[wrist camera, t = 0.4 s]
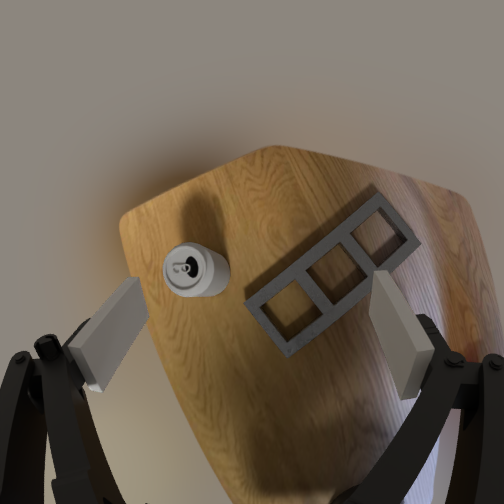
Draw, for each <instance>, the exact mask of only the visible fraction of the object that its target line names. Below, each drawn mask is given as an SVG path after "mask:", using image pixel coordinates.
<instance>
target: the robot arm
mask: <svg viewBox="0 0 504 504" xmlns="http://www.w3.org/2000/svg"><path fill="white" fill-rule="evenodd" d="M369 316H370V318H371V321H372V324H373V326H374V329H375V331H376V334H377V336H378V339H379V342H380V344H381V347H382V349H383V352H384V355H385V358H386V360H387V363H388V366H389V369H390V371H391V374H392V377H393V380H394V383H395V386H396V389H397V392H398V395H399V398H400V400H405V399H411V398H416V397H417V395H418V393H419V390H420V389H421V393H420V395H419V397H418V399H417V400H416V402H415V404H414V406H413V408H412V409H411V411H410V413H409V414H408V416H407V418H406V419H405V421H404V423H403V424H402V426H401V428H400V429H399V431H398V432H397V434H396V435H395V437H394V439H393V440H392V442H391V443H390V445H389V446H388V448H387V449H386V450H385V452H384V453H383V455H382V456H381V458H380V459H379V460H378V462H377V463H376V465H375V466H374V467H373V469H372V470H371V471H370V473H369V474H368V475H367V477H366V478H365V479H364V480H363V482H362V483H361V484H360V485H358V486H355V487H353V488H351V489H349V490H347V491H345V492H344V493H342V494H341V495H340V496H339V497H337V498H336V499H335V501H334V502H333V503H332V504H404V497H405V496H406V494H407V492H408V491H409V489H410V488H411V486H412V484H413V483H414V481H415V480H416V478H417V476H418V474H419V473H420V471H421V469H422V467H423V466H424V464H425V462H426V460H427V458H428V456H429V455H430V453H431V451H432V449H433V447H434V445H435V443H436V441H437V439H438V437H439V435H440V433H441V430H442V428H443V426H444V424H445V422H446V419H447V417H448V415H449V412H450V410H451V408H454V409H461V415H460V425H459V434H458V441H457V448H456V454H455V460H454V466H453V471H452V476H451V481H450V485H449V490H448V494H447V498H446V502H445V504H504V357H502V356H500V355H498V354H488V355H486V356H485V357H484V359H483V361H482V363H474V362H467V361H466V359H465V357H464V356H463V355H461V354H460V353H458V352H454V351H451V350H450V348H449V346H448V345H447V343H446V341H445V340H444V338H443V337H442V335H441V333H440V332H439V330H438V329H437V328H436V325H435V324H434V322H433V321H432V319H430V318H429V317H428V316H426V315H425V314H419V315H415V314H414V312H413V310H412V309H411V307H410V306H409V304H408V302H407V301H406V299H405V297H404V296H403V294H402V293H401V291H400V290H399V288H398V286H397V285H396V283H395V282H394V280H393V279H392V277H391V276H390V274H389V273H388V271H387V270H381V271H374V275H373V284H372V292H371V300H370V307H369ZM148 318H149V313H148V310H147V306H146V302H145V299H144V295H143V291H142V287H141V283H140V279H139V277H127V279H126V280H125V281H124V282H123V283H122V284H121V285H120V286H119V287H118V288H117V290H116V291H115V292H114V293H113V294H112V295H111V296H110V297H109V298H108V299H107V301H106V302H105V303H104V304H103V305H102V306H101V307H100V309H99V310H98V311H97V312H96V313H95V314H94V315H93V316H92V318H89V319H87V320H86V321H84V322H83V323H82V324H81V325H80V326H79V327H78V328H77V330H76V331H75V332H74V333H73V335H71V337H70V338H69V339H68V340H67V341H66V342H65V343H64V345H63V346H62V347H61V345H60V343H59V341H58V339H57V336H56V335H54V334H48V335H44V336H42V337H40V338H39V339H37V341H36V342H35V343H34V348H35V349H36V352H37V354H38V356H39V357H40V359H32V357H31V355H30V353H29V352H27V351H21V352H18V353H16V354H15V355H14V356H13V357H12V358H11V360H10V362H9V365H8V368H7V370H6V373H5V376H4V379H3V382H2V385H1V388H0V504H44V470H45V454H46V441H47V431H48V437H49V443H50V449H51V454H52V458H53V463H54V468H55V472H56V479H53V480H52V482H51V485H52V490H53V494H54V498H55V501H56V504H126V503H125V501H124V499H123V498H122V495H121V493H120V491H119V489H118V487H117V484H116V482H115V480H114V477H113V475H112V472H111V470H110V467H109V465H108V462H107V460H106V457H105V454H104V452H103V449H102V446H101V444H100V440H99V437H98V435H97V431H96V428H95V426H94V422H93V419H92V415H91V412H90V409H89V405H88V402H87V398H86V394H85V391H84V389H83V387H82V386H83V384H84V383H85V381H86V383H87V385H88V387H89V389H90V390H93V391H97V392H101V393H103V391H104V390H105V388H106V386H107V385H108V383H109V381H110V379H111V378H112V376H113V374H114V373H115V371H116V369H117V368H118V366H119V365H120V363H121V361H122V360H123V358H124V356H125V355H126V353H127V351H128V350H129V348H130V347H131V345H132V343H133V342H134V340H135V339H136V337H137V335H138V334H139V332H140V331H141V329H142V327H143V326H144V324H145V323H146V321H147V320H148ZM146 504H147V503H146Z"/></svg>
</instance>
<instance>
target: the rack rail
mask: <svg viewBox="0 0 504 504" xmlns="http://www.w3.org/2000/svg"><path fill="white" fill-rule="evenodd" d="M376 211H378V212H379V213H380V214H381V216H382V217H383V218H384V219H385V220H386V222H387V223H388V224H389V225H390V226H391V228H392V229H393V230H394V231H395V233H396V234H397V235H398V236H399V238H400V239H401V240H402V241H403V243H402V244H401V245H400V246H399V247H398V248H397V249H396V250H395V251H394V252H392V253H391V254H390V255H389V256H388V257H387V258H386V259H385V260H384V261H383V262H382V263H380V264H379V265H378V266H377V267H376V265H375V264H374V263H373V262H372V260H371V259H370V258H369V257H368V255H367V254H366V253H365V252H364V250H363V249H362V248H361V247H360V245H359V244H358V243H357V242H356V241H355V239H354V238H353V237H352V236H351V235H350V233H351V232H353V231H354V230H355V229H356V228H357V227H358V226H360V225H361V224H362V223H363V222H364V221H365V220H366V219H368V218H369V217H370V216H371V215H372V214H373V213H374V212H376ZM337 244H339V246H340V247H341V248H342V249H343V251H344V252H345V253H346V254H347V255H348V257H349V258H350V259H351V260H352V262H353V263H354V264H355V265H356V267H357V268H358V269H359V270H360V272H361V273H362V274H363V275H364V277H365V278H364V279H362V280H361V281H360V282H359V283H358V284H357V285H356V286H354V287H353V288H352V289H351V290H350V291H349V292H347V293H346V294H345V295H344V296H343V297H341V298H340V299H339V300H338V301H337V302H335V303H334V304H332V303H331V302H330V301H329V299H328V298H327V297H326V296H325V294H324V293H323V292H322V291H321V289H320V288H319V287H318V286H317V284H316V283H315V282H314V281H313V279H312V278H311V277H310V276H309V274H308V273H307V272H306V270H307V269H309V268H310V267H311V266H312V265H313V264H315V263H316V262H317V261H318V260H319V259H321V258H322V257H323V256H324V255H325V254H327V253H328V252H329V251H330V250H331V249H333V248H334V247H335V246H336V245H337ZM420 245H421V242H420V241H419V240H418V239H417V237H416V236H415V235H414V233H413V232H412V231H411V230H410V228H409V227H408V226H407V225H406V223H405V222H404V221H403V220H402V218H401V217H400V216H399V215H398V214H397V212H396V211H395V210H394V209H393V208H392V206H391V205H390V204H389V203H388V202H387V200H386V199H385V198H384V197H383V196H382V195H381V194H380V192H377V193H376V194H375V195H374V196H373V197H372V198H370V199H369V200H368V201H367V202H366V203H365V204H363V205H362V206H361V207H360V208H359V209H358V210H356V211H355V212H354V213H353V214H352V215H351V216H349V217H348V218H347V219H346V220H345V221H344V222H342V223H341V224H340V225H339V226H338V227H336V228H335V229H334V230H333V231H332V232H330V233H329V234H328V235H327V236H326V237H324V238H323V239H322V240H321V241H320V242H318V243H317V244H316V245H315V246H314V247H312V248H311V249H310V250H309V251H308V252H306V253H305V254H304V255H303V256H301V257H300V258H299V259H298V260H297V261H295V262H294V263H293V264H292V265H290V266H289V267H288V268H287V269H285V270H284V271H283V272H282V273H280V274H279V275H278V276H277V277H276V278H274V279H273V280H272V281H271V282H269V283H268V284H267V285H266V286H264V287H263V288H262V289H261V290H259V291H258V292H257V293H255V294H254V295H253V296H252V297H250V298H249V299H248V300H247V301H245V302H244V304H245V306H246V307H247V308H248V310H249V311H250V312H251V313H252V315H253V316H254V317H255V319H256V320H257V321H258V322H259V324H260V325H261V326H262V328H263V329H264V330H265V331H266V333H267V334H268V335H269V336H270V338H271V339H272V340H273V341H274V343H275V344H276V345H277V346H278V348H279V349H280V350H281V351H282V353H283V354H284V355H285V356H286V358H289V357H290V356H291V355H293V354H294V353H295V352H297V351H298V350H299V349H301V348H302V347H303V346H305V345H306V344H307V343H309V342H310V341H311V340H312V339H314V338H315V337H316V336H318V335H319V334H320V333H321V332H323V331H324V330H325V329H326V328H328V327H329V326H330V325H331V324H333V323H334V322H335V321H336V320H338V319H339V318H340V317H341V316H342V315H344V314H345V313H346V312H347V311H348V310H350V309H351V308H352V307H353V306H354V305H355V304H357V303H358V302H359V301H360V300H361V299H362V298H364V297H365V296H366V295H367V294H368V293H369V292H370V291H372V284H373V275H374V271H381V270H387V271H388V273H389V274H390V273H391V272H393V271H394V270H395V269H396V268H397V267H398V266H399V265H400V264H401V263H402V262H403V261H404V260H405V259H406V258H407V257H408V256H409V255H410V254H411V253H413V252H414V251H415V250H416V249H417V248H418V247H419V246H420ZM294 280H296V281H297V282H298V283H299V285H300V286H301V287H302V288H303V290H304V291H305V292H306V293H307V295H308V296H309V297H310V298H311V300H312V301H313V302H314V303H315V305H316V306H317V307H318V308H319V310H320V311H321V312H322V314H321V315H320V316H318V317H317V318H316V319H315V320H313V321H312V322H311V323H310V324H308V325H307V326H306V327H304V328H303V329H302V330H301V331H299V332H298V333H297V334H295V335H294V336H293V337H292V338H290V339H289V340H287V339H286V337H285V336H284V335H283V334H282V332H281V331H280V330H279V329H278V327H277V326H276V325H275V324H274V322H273V321H272V320H271V319H270V317H269V316H268V315H267V313H266V312H265V311H264V310H263V308H262V307H261V306H262V305H264V304H265V303H266V302H267V301H269V300H270V299H271V298H273V297H274V296H275V295H276V294H278V293H279V292H280V291H281V290H283V289H284V288H285V287H286V286H288V285H289V284H290V283H291V282H293V281H294Z"/></svg>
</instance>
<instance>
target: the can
mask: <svg viewBox="0 0 504 504" xmlns="http://www.w3.org/2000/svg"><path fill="white" fill-rule="evenodd" d="M163 275H164V278H165V281H166V284H167V285H168V287H169V288H170V289H171V290H172V291H173V292H174V293H176V294H177V295H180V296H183V297H204V296H214V295H217V294H219V293H220V292H222V291H223V290H224V289H225V288H226V286H227V284H228V283H229V279H230V268H229V265H228V263H227V261H226V260H225V259H224V257H223V256H221V255H220V254H218V253H216V252H214V251H212V250H210V249H208V248H206V247H204V246H202V245H200V244H197V243H192V242H187V243H182V244H179V245H177V246H175V247H174V248H173V249H172V250H171V251H170V252H169V253H168V255H167V256H166V258H165V260H164V264H163Z"/></svg>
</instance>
